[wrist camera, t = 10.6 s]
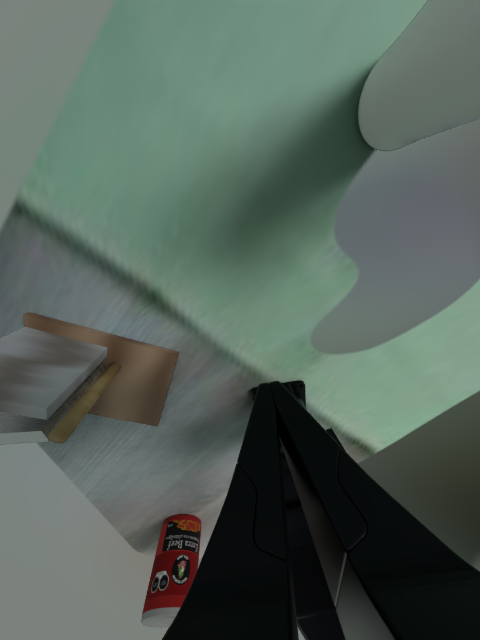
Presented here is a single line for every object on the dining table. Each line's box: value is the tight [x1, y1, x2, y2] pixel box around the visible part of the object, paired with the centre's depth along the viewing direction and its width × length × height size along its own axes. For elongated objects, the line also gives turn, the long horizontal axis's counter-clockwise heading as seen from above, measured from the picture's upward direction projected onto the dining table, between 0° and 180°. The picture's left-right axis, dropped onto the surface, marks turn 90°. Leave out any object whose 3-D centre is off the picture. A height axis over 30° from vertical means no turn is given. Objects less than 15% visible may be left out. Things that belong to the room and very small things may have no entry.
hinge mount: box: [0, 312, 179, 443], centre depth 19 cm, size 14×12×9 cm
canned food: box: [141, 514, 201, 627], centre depth 35 cm, size 8×8×11 cm
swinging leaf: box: [0, 364, 105, 445], centre depth 18 cm, size 8×1×8 cm, turn 92°
